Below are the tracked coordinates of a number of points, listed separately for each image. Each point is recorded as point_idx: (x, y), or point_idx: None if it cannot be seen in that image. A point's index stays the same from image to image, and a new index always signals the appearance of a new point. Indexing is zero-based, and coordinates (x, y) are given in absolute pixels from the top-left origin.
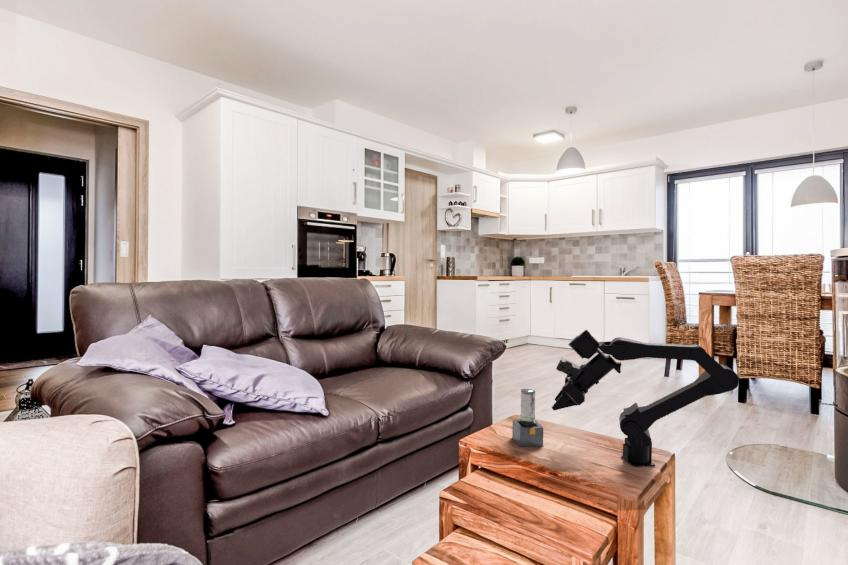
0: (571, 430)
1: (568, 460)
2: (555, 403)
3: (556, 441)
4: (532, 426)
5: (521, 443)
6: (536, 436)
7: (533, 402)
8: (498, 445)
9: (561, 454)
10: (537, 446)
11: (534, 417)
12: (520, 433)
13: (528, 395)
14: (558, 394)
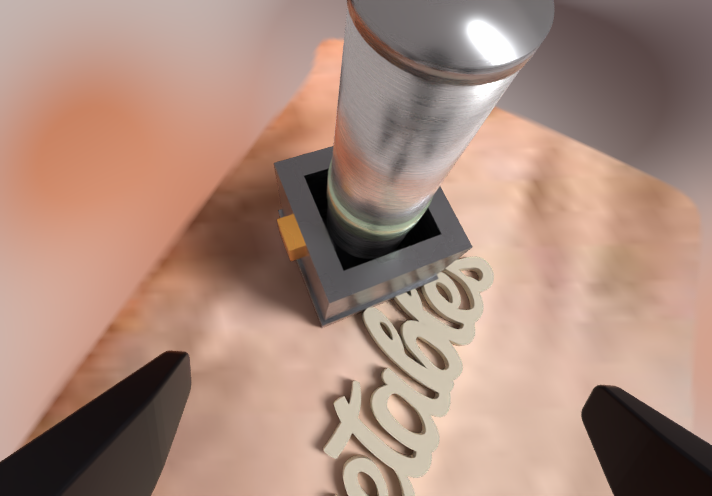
0: None
1: (208, 463)
2: (71, 416)
3: (457, 391)
4: (342, 235)
5: (284, 213)
6: (311, 275)
7: (372, 143)
8: (311, 137)
9: (284, 422)
10: (310, 293)
11: (363, 224)
12: (277, 183)
13: (346, 23)
14: (682, 458)
